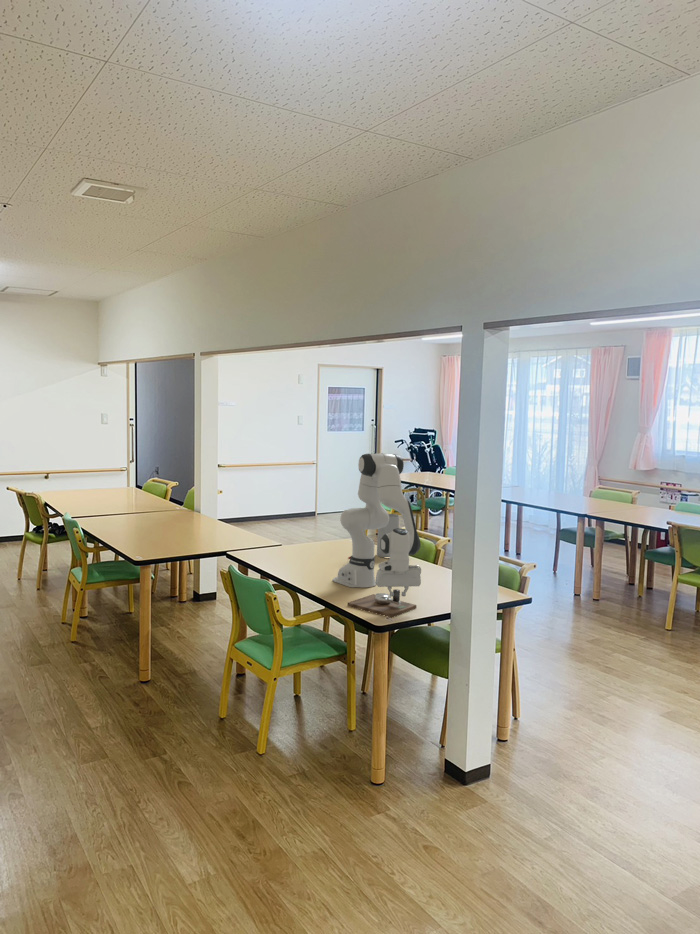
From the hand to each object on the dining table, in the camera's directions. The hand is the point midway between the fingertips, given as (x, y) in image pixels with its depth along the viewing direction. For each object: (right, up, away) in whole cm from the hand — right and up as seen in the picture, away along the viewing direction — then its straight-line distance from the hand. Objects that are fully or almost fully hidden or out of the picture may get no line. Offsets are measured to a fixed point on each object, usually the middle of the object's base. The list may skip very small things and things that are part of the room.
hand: (397, 596), depth 307 cm
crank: (-4, -4, +4) cm, 7 cm away
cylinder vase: (+1, +3, +109) cm, 109 cm away
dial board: (-7, -6, +4) cm, 10 cm away
